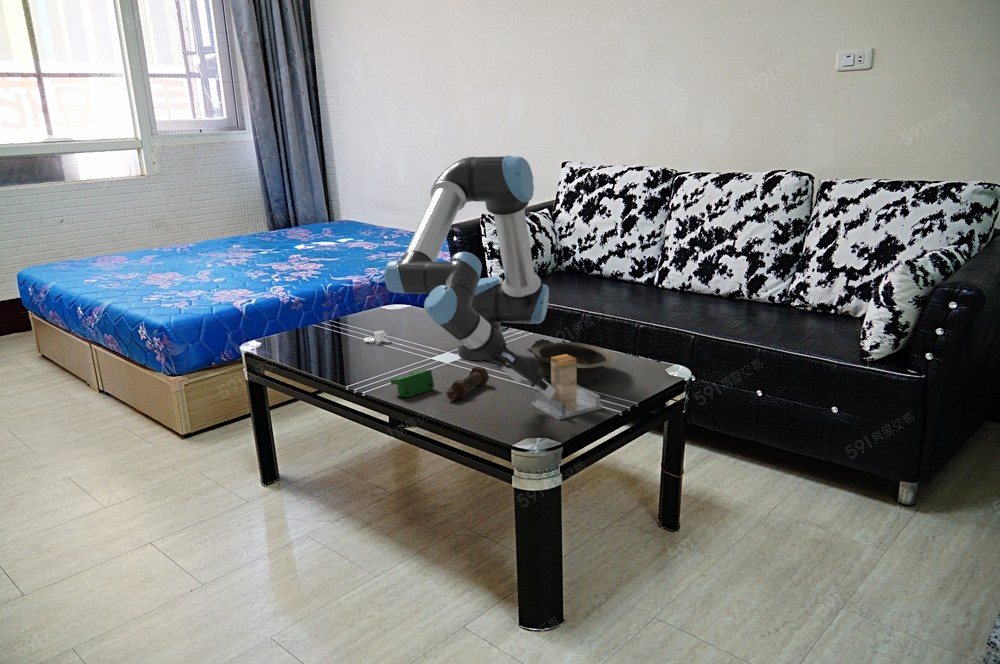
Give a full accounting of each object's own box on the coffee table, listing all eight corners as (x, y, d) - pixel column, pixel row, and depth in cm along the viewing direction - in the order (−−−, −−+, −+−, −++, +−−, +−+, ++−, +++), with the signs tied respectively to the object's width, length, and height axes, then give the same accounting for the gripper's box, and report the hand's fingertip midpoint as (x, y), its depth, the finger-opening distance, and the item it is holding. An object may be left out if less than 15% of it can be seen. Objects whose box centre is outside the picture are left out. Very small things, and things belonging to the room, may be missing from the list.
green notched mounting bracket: (420, 401, 207) (423, 371, 208) (432, 401, 202) (435, 370, 204) (386, 396, 199) (390, 364, 201) (398, 396, 195) (401, 364, 197)
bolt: (449, 408, 195) (479, 387, 208) (462, 401, 192) (492, 381, 205) (438, 388, 195) (469, 369, 207) (451, 381, 192) (482, 362, 204)
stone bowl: (510, 379, 209) (510, 347, 207) (563, 362, 227) (564, 333, 225) (583, 396, 193) (584, 362, 191) (633, 377, 211) (635, 345, 209)
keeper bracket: (532, 404, 190) (531, 391, 189) (574, 394, 196) (574, 381, 195) (558, 419, 180) (558, 406, 179) (602, 408, 186) (602, 395, 185)
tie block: (551, 402, 189) (550, 357, 185) (566, 398, 191) (565, 354, 187) (561, 408, 185) (561, 362, 181) (576, 404, 187) (576, 358, 184)
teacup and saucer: (360, 345, 247) (359, 333, 246) (376, 338, 254) (376, 327, 253) (381, 348, 243) (380, 336, 242) (396, 342, 249) (396, 330, 248)
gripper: (445, 337, 180) (501, 384, 192) (497, 364, 160) (556, 414, 171) (464, 313, 181) (518, 360, 193) (518, 336, 161) (575, 388, 172)
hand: (536, 386), depth 182 cm, fingers open, 13 cm apart
